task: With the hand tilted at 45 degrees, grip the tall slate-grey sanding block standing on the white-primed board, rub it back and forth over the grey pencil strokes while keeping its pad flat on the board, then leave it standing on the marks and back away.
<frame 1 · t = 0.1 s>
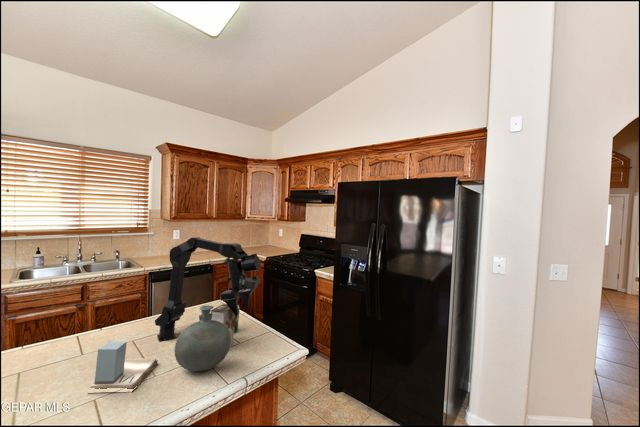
hand: (242, 311, 105), 15 cm above the table, tool pointing down, fingers open, 9 cm apart
soda can: (232, 331, 121), on the table
flask: (201, 371, 88), on the table
coffee box: (220, 347, 106), on the table
board: (117, 385, 78), on the table
sanding block: (109, 378, 78), point 2 cm above the table, touching board
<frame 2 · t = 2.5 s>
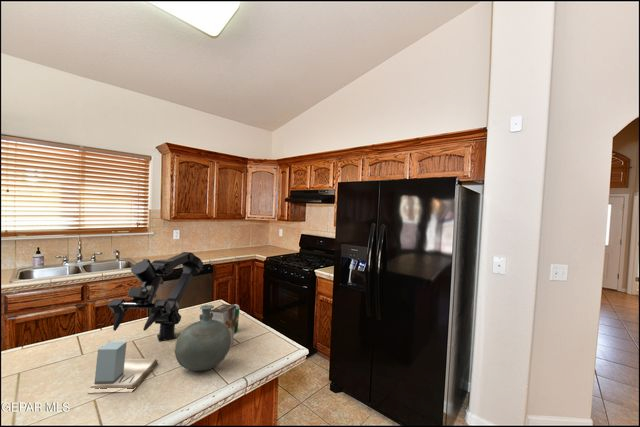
hand: (129, 330, 86), 13 cm above the table, tool tilted 45°, fingers open, 9 cm apart
nothing on the table moved.
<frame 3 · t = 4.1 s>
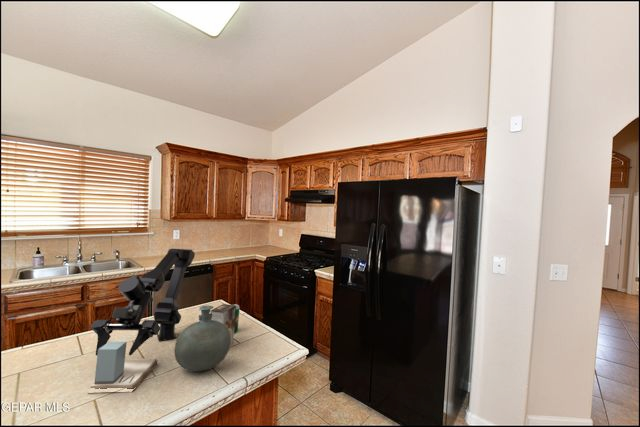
hand: (113, 355, 79), 9 cm above the table, tool tilted 45°, fingers open, 9 cm apart
nothing on the table moved.
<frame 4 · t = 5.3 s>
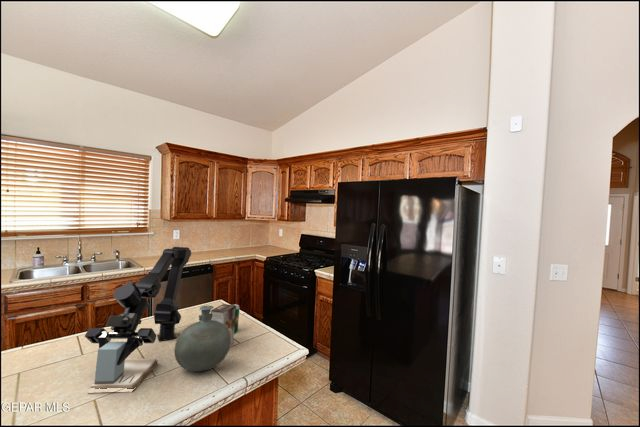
hand: (108, 365, 76), 7 cm above the table, tool tilted 45°, fingers closed on sanding block, 5 cm apart
sanding block: (109, 378, 78), point 2 cm above the table, touching board, gripper
everything else where it was.
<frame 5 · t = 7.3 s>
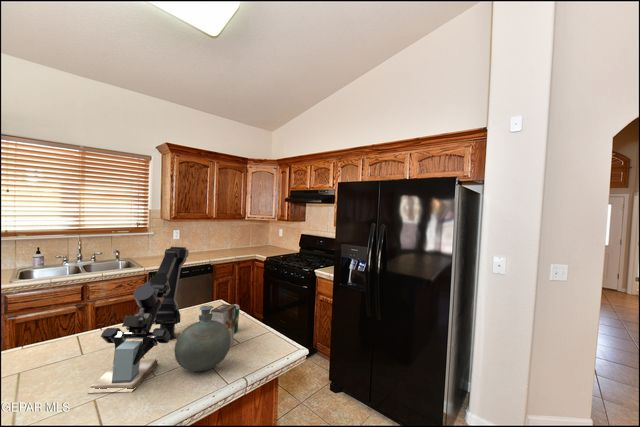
hand: (124, 364, 77), 7 cm above the table, tool tilted 45°, fingers closed on sanding block, 5 cm apart
sanding block: (125, 377, 78), point 2 cm above the table, touching gripper
everything else where it was.
when the fingers open (7 cm above the table, at t = 11.7 s): sanding block stays where it is, resting on board.
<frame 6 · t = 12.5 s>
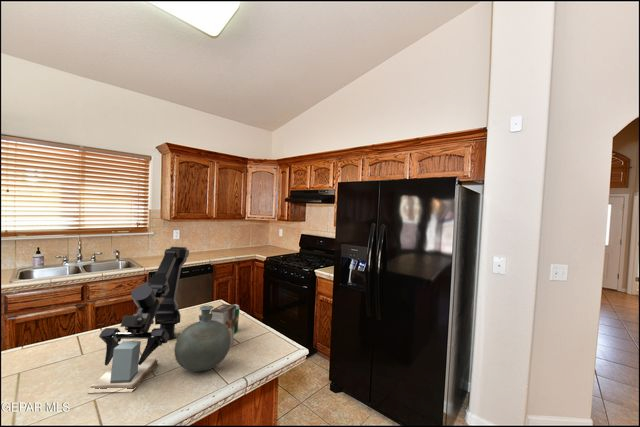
hand: (122, 364, 77), 7 cm above the table, tool tilted 45°, fingers open, 9 cm apart
sanding block: (124, 378, 78), point 2 cm above the table, touching board
everything else where it was.
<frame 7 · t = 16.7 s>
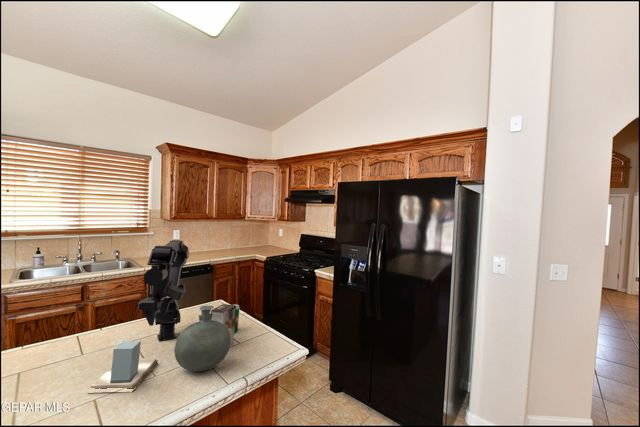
hand: (157, 320, 96), 13 cm above the table, tool pointing down, fingers open, 9 cm apart
nothing on the table moved.
at the end: sanding block 0.3 cm from the target spot on the board, point 2.0 cm above the board's base; sanding block tilted 0°; the gripper is holding nothing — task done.
